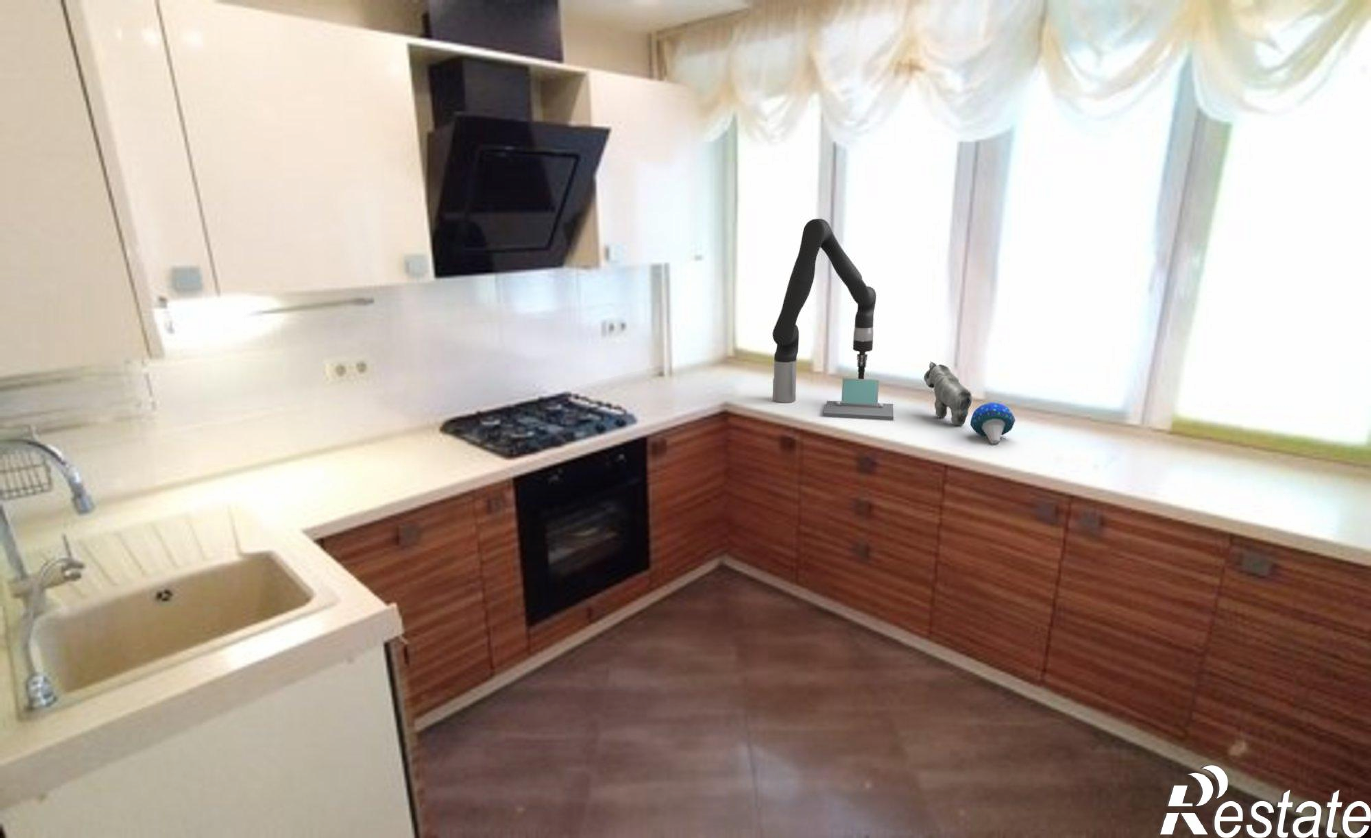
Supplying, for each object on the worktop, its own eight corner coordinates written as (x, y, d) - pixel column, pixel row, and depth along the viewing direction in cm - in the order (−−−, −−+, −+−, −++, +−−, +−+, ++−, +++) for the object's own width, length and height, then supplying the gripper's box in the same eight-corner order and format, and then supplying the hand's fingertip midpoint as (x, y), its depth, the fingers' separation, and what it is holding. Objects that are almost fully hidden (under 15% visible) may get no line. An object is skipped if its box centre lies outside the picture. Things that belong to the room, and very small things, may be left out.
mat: (823, 416, 258) (823, 408, 257) (827, 404, 275) (827, 396, 274) (893, 420, 251) (893, 412, 250) (892, 407, 268) (893, 399, 267)
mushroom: (984, 426, 217) (980, 390, 225) (964, 449, 228) (961, 414, 237) (1026, 434, 216) (1020, 398, 225) (1005, 457, 228) (1000, 422, 237)
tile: (841, 403, 268) (841, 403, 266) (842, 378, 267) (842, 378, 266) (877, 405, 264) (877, 405, 262) (879, 379, 263) (879, 379, 262)
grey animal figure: (974, 426, 241) (980, 372, 235) (953, 429, 239) (958, 375, 233) (933, 408, 264) (937, 359, 258) (913, 410, 262) (917, 361, 256)
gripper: (854, 335, 269) (851, 376, 274) (852, 341, 256) (850, 384, 262) (873, 335, 267) (870, 377, 272) (872, 342, 255) (870, 385, 260)
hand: (860, 380), depth 267 cm, fingers closed
